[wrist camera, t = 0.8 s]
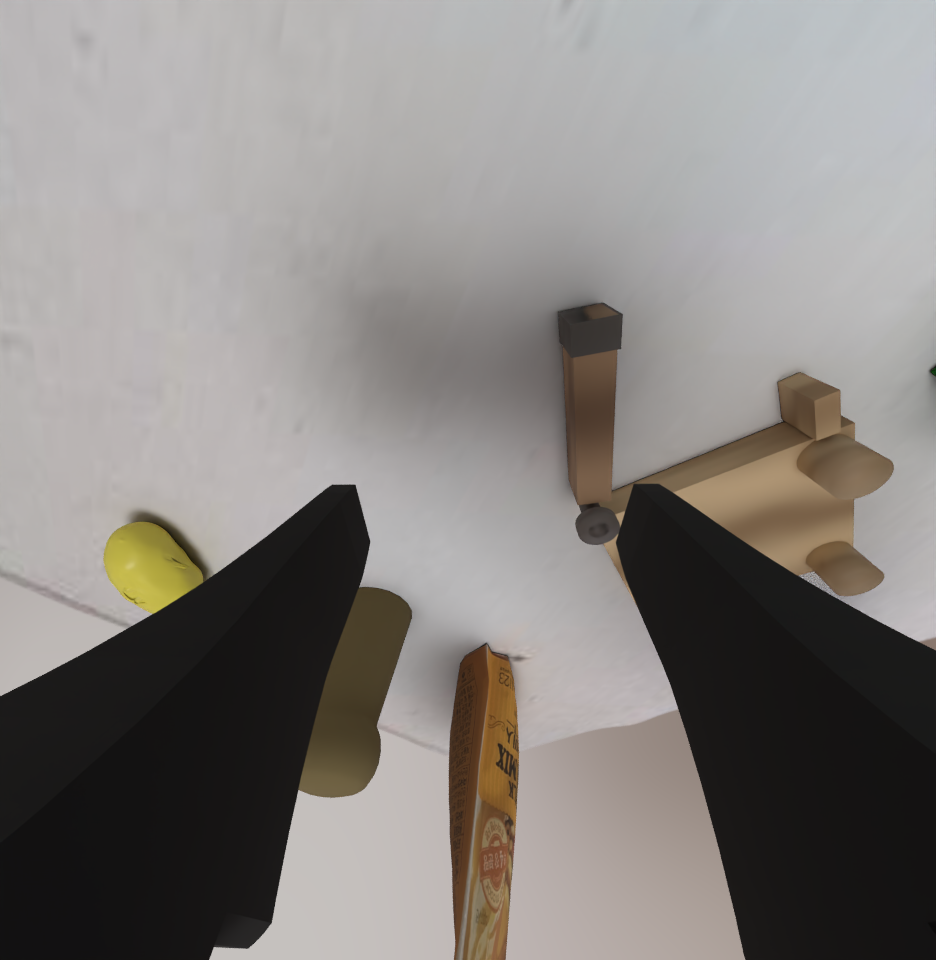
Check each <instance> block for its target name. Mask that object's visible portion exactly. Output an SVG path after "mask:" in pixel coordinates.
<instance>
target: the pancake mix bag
mask: <svg viewBox="0 0 936 960" xmlns="http://www.w3.org/2000/svg"><path fill="white" fill-rule="evenodd" d="M518 766H519V743H518V722H517V706H516V700H515V688H514V679H513V675H512V671H511V667H510V664H509V660H508V656H504V655H500V654H496V653H492V652H491V650H490V649H489V647H488V645H487V644H486V645H484V646H482V647H480V648H478V649H476V650H475V651H473V652H471V653H469V654H467V655H466V656H465V657H464V659H463V660H462V662H461V663H460V669H459V675H458V681H457V688H456V695H455V702H454V709H453V717H452V724H451V730H450V750H449V808H450V809H449V810H450V844H451V859H452V876H453V877H452V882H453V911H454V928H455V940H456V941H455V955H454V960H505V959H506V946H507V933H508V919H509V906H510V890H511V880H512V869H513V855H514V843H515V826H516V809H517V789H518Z"/></svg>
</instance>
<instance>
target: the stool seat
mask: <svg viewBox="0 0 936 960" xmlns="http://www.w3.org/2000/svg"><path fill="white" fill-rule="evenodd" d="M778 387H779V396H780V405H781V414H782V420H784V421H785V422H782V423H780V424H777V425H775V426H773V427H770V428H768V429H765V430H763V431H760V432H758V433H755V434H753V435H750V436H748V437H745V438H743V439H740V440H738V441H736V442H733V443H731V444H728V445H726V446H723V447H721V448H718V449H716V450H713V451H711V452H708V453H706V454H703V455H701V456H698V457H696V458H694V459H691V460H689V461H686V462H684V463H681V464H679V465H676V466H674V467H671V468H669V469H666V470H664V471H661V472H659V473H657V474H654V475H652V476H649V477H647V478H644V479H642V480H639V481H637V482H634V483H632V484H629V485H627V486H624V487H622V488H620V489H617V490H615V491H612V492H611V501H607V502H599V503H591V504H584V505H579V507H580V510H581V514H580V515H579V516H578V518H577V520H576V523H575V525H576V529H577V532H578V535H579V538H580V539H581V540H582V541H583V542H585V543H587V544H592V545H599V544H604V546H605V548H606V550H607V552H608V554H609V555H610V557H611V559H612V561H613V563H614V565H615V567H616V568H617V570H618V572H619V574H620V576H621V578H622V579H623V581H624V583H625V585H626V587H627V589H628V590H629V592H630V594H631V596H632V598H633V595H632V593H631V590H630V588H629V586H628V583H627V581H626V578H625V575H624V572H623V568H622V565H621V561H620V557H619V554H618V550H617V546H616V540H617V537H618V533H619V530H620V527H621V524H622V520H623V517H624V514H625V510H626V507H627V504H628V501H629V497H630V494H631V491H632V488H633V484H660V485H662V486H664V487H665V488H667V489H668V490H670V491H671V492H673V493H675V494H676V495H677V496H679V497H680V498H682V499H683V500H685V501H686V502H688V503H689V504H691V505H692V506H693V507H695V508H696V509H698V510H699V511H701V512H702V513H703V514H705V515H706V516H708V517H709V518H711V519H712V520H713V521H715V522H716V523H718V524H719V525H721V526H722V527H724V528H725V529H726V530H728V531H729V532H731V533H732V534H734V535H735V536H737V537H738V538H740V539H741V540H743V541H744V542H746V543H747V544H749V545H750V546H752V547H753V548H755V549H756V550H758V551H759V552H761V553H762V554H764V555H765V556H767V557H769V558H770V559H772V560H773V561H775V562H777V563H778V564H780V565H781V566H783V567H785V568H786V569H788V570H789V571H791V572H793V573H794V574H796V575H797V576H798V575H802V574H805V573H809V572H812V571H814V572H815V573H816V574H817V575H818V576H819V577H820V578H821V579H822V580H823V581H824V582H825V583H826V584H827V585H828V586H829V587H830V588H831V589H832V590H833V591H834V592H835V593H836V594H837V595H840V596H854V595H858V594H862V593H865V592H867V591H869V590H871V589H873V588H875V587H876V586H878V585H879V584H880V583H881V582H882V581H883V579H884V574H883V572H882V571H880V570H879V569H878V568H877V567H876V566H874V565H873V564H872V563H871V562H870V561H869V560H867V559H866V558H865V557H864V556H863V555H862V554H860V553H859V552H858V551H857V550H856V549H854V548H853V526H854V499H856V498H859V497H862V496H865V495H867V494H870V493H872V492H873V491H875V490H877V489H878V488H880V487H881V486H882V485H883V484H884V483H886V482H887V480H888V479H889V478H890V477H891V475H892V473H893V470H894V465H893V463H892V461H890V460H889V459H887V458H885V457H884V456H882V455H880V454H878V453H877V452H875V451H873V450H871V449H869V448H868V447H866V446H864V445H862V444H861V443H859V442H857V441H855V423H854V422H852V421H850V420H848V419H846V418H845V417H843V416H841V405H840V390H839V389H837V388H834V387H832V386H830V385H828V384H825V383H823V382H821V381H819V380H816V379H814V378H812V377H810V376H807V375H805V374H803V373H801V372H800V373H797V374H795V375H793V376H791V377H788V378H786V379H784V380H782V381H779V382H778ZM633 600H634V598H633ZM634 602H635V600H634ZM635 603H636V602H635Z"/></svg>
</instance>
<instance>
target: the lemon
mask: <svg viewBox="0 0 936 960" xmlns="http://www.w3.org/2000/svg"><path fill="white" fill-rule="evenodd" d="M104 565H105V569H106V572H107V575H108V578H109V580H110V581H111V583H112V584H113V585H114V586H115V587H116V588H117V590H118V591H119V592H120V594H121V595H122V596H123V597H124V598H125V599H126V600H128V601H130V602H132V603H134V604H136V605H137V606H139V607H140V608H142V609H144V610H146V611H148V612H150V613H152V614H154V613H156V612H157V611H159V610H161V609H162V608H164V607H166V606H167V605H169V604H170V603H172V602H173V601H175V600H177V599H178V598H180V597H181V596H183V595H184V594H186V593H188V592H189V591H191V590H192V589H194V588H195V587H197V586H198V585H200V584H201V583H203V575H202V572H201V571H200V569H199V568H198V567H197V566H196V565H195V564H193V563H192V562H191V560H190V559H189V557H188V556H187V555H186V553H185V552H184V550H183V549H182V548H181V547H180V546H179V545H178V544H177V543H176V542H175V541H174V540H173V538H172V537H171V536H170V535H169V534H168V533H167V532H166V531H165V530H164V529H163V528H161V527H160V526H158V525H156V524H153V523H149V522H134V523H130V524H127V525H124V526H122V527H120V528H119V529H117V530H116V531H115V532H114V533H113V534H112V535H111V536H110V538H109V539H108V541H107V544H106V547H105V551H104Z"/></svg>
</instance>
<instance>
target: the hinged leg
mask: <svg viewBox="0 0 936 960" xmlns="http://www.w3.org/2000/svg"><path fill="white" fill-rule="evenodd" d="M558 316H559V336H560V343H561V344H562V346H563V363H564V386H565V408H566V431H567V453H568V476H569V482H570V485H571V488H572V491H573V493H574V496H575V499H576V502H577V505H584V504H591V503H599V502H607V501H611V488H612V464H613V440H614V416H615V392H616V368H617V350H618V349H621V338H622V317H623V314H621V313H620V312H618V311H616V310H614V309H613V308H611V307H609V306H608V305H606V304H604V303H600V304H595V305H590V306H585V307H581V308H576V309H571V310H566V311H561V312H558Z"/></svg>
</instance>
